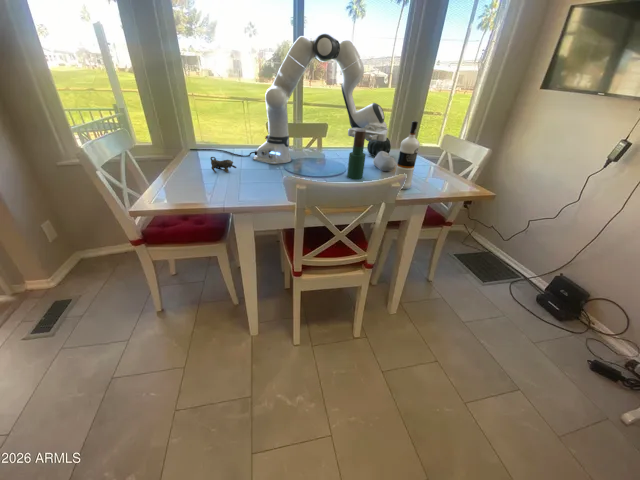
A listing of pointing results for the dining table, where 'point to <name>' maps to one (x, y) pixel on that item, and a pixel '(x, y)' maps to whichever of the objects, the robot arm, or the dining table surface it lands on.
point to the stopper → (359, 138)
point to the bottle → (356, 163)
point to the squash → (378, 147)
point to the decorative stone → (384, 161)
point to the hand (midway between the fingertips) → (361, 136)
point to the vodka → (408, 156)
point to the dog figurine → (221, 164)
